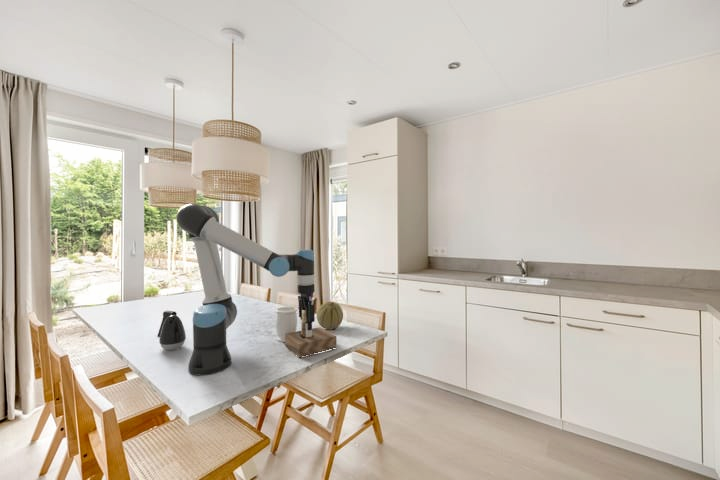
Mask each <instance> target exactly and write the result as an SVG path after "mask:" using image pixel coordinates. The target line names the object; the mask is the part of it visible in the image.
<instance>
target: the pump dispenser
mask: <svg viewBox="0 0 720 480" xmlns="http://www.w3.org/2000/svg"><path fill="white" fill-rule="evenodd" d="M186 339H187V336H186V331H185V326H184V324H183V322H182V319H181V318H180V316H178V315H171V316H169V317H167V318H166V320H165V322H164V324H163V326H162V330H161V334H160V337H159V344H160V347H161V348H162V349H163V350H165V351H167V352H168V351H175V350H179V349H180V348H182V347H183V346H184V344H185V341H186Z"/></svg>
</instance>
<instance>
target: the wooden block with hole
mask: <svg viewBox="0 0 720 480" xmlns="http://www.w3.org/2000/svg"><path fill="white" fill-rule="evenodd" d="M284 345H285V346H286V347H287V348H288V349H287V348H286V347H285V348H286V349H287V350H288V351H290V352H291V351H292V352H293V353H294V354H295V355H294V354H293V353H292V352H291V353H292V354H293V355H294V356H296V355H297V356H298V357H302V356H306V355H310V354H314V353H318V352H322V351H326V350H329V349H333V348H336V349H337V335H335V334H333V333H332V332H330V331H328V330H327V329H325V328H323V327H321V326H318V327H314V328H313V327H312V337H309V338H303V335H302V334H301V330H298V331H297V330H296V332H292V333H286V334H285V342H284ZM297 356H296V357H297ZM298 357H297V358H298Z"/></svg>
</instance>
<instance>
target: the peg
mask: <svg viewBox="0 0 720 480" xmlns="http://www.w3.org/2000/svg"><path fill="white" fill-rule="evenodd" d="M305 322H307V320H306V310H302V334H303V338H306V323H305ZM307 338H309V337H307Z"/></svg>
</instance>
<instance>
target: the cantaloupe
mask: <svg viewBox="0 0 720 480" xmlns="http://www.w3.org/2000/svg"><path fill="white" fill-rule="evenodd" d="M343 319H344V311H343V309H342V306H340V304H339V303H337V302H335V301H326V302H324V303H322V304H320V306H319V307H318V309H317V311H316V321H317V323H318V325H319V327H321V328H323V329H325V330H333V329H337V328H338V327H339V326H340V325H341V324H342V322H343Z"/></svg>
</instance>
